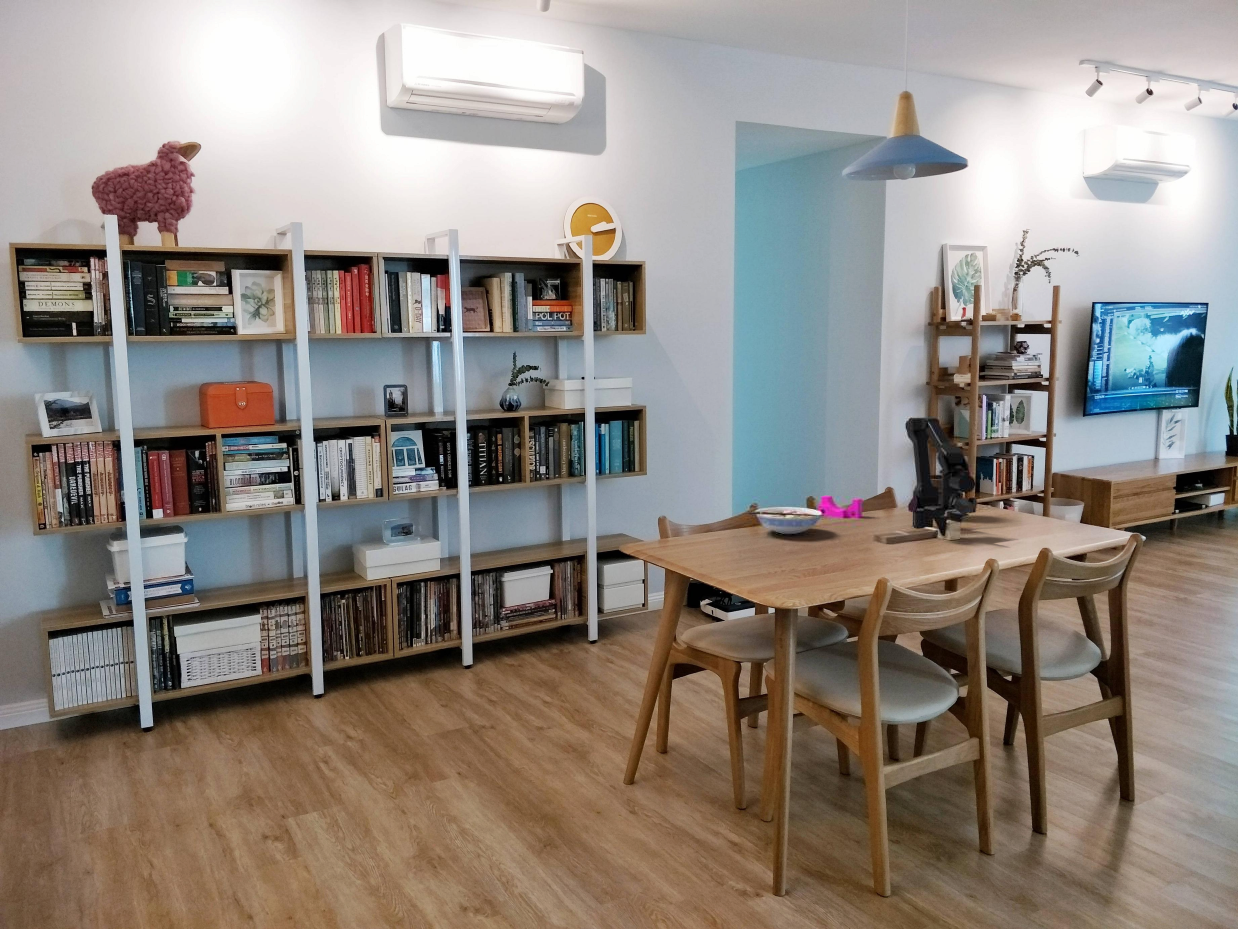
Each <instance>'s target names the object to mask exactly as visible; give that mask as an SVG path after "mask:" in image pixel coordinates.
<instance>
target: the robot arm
mask: <svg viewBox="0 0 1238 929" xmlns="http://www.w3.org/2000/svg"><path fill="white" fill-rule="evenodd" d="M904 426H905V430H906V435H907V438H908V439H909V440H910V441H911V443H912V445H913V448H912V449H913V456H914V458H913V459H914V466H915V467H914V468H915V476H916V477H915V478H916V485H915V487H914V489H913V491H912V498H911V500H910V501H909V503H908V505H907V508H908V512H911V513H912V526H913V527H914V528H913V529H915V528H916V529H921V528H925V527H934V522H935V524H936V527H938V529H939V531H940V533H941V535H942V536H945V532H946V521H947V520H948V519H949V516H947V513H948V512H950V519H951V520H950V521H956V522H961V523H962V521H963V519H965V518H966V517H968V516H969V515H970V514H973V513H974V514H975V513H976V512H977V510H976V509H977V507H978V506H977V505H978V499H977V498H975V497H973V496H972V497H969V498H965V497H964V494H963V493H965V494H968V493H970V492H973V490H974V488H975V487H976V482H975V479H974V477H972V476H971V475H970V473H971V472H970V469H969V467H970V466H969V465H968V462H967V460H966V457H965V455H964V453H963V451H962V450H961V449H960V448H959V447H958V446H955V445H954V444H952V442H951V441H950V439H949V438H948V436H947V434H946V433H945V431H944V429H943V428H942V425H941V424H940V420H939V418H938V417H910V418H908V420H907V421H906V422H905V425H904ZM929 440H930V441H931V443H932V444H933V446H934V448H935V449H936V451H937V457H936V458H937V461H938V464H939V466H940V467H941V469H940V470H939V474H940V475H942V488H941V491H939V494H941V503H939V501H940V500H939V495H938V488H937V486H936V487H935V486H934V485H933V484H932V482H931V475H932V473H931V464H930V455H929V444H928V441H929ZM938 506H939V507H938Z"/></svg>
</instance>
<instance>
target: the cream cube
mask: <svg viewBox="0 0 1238 929" xmlns="http://www.w3.org/2000/svg"><path fill="white" fill-rule="evenodd" d="M961 524H962V522H956V521H951V520H947V521H946V532H945V536H942V535H941V533H940V531H939V529H938V530H935V537H934V538H937V539H941V540H947V541H954V540H960V539H961V526H962V525H961Z"/></svg>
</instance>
